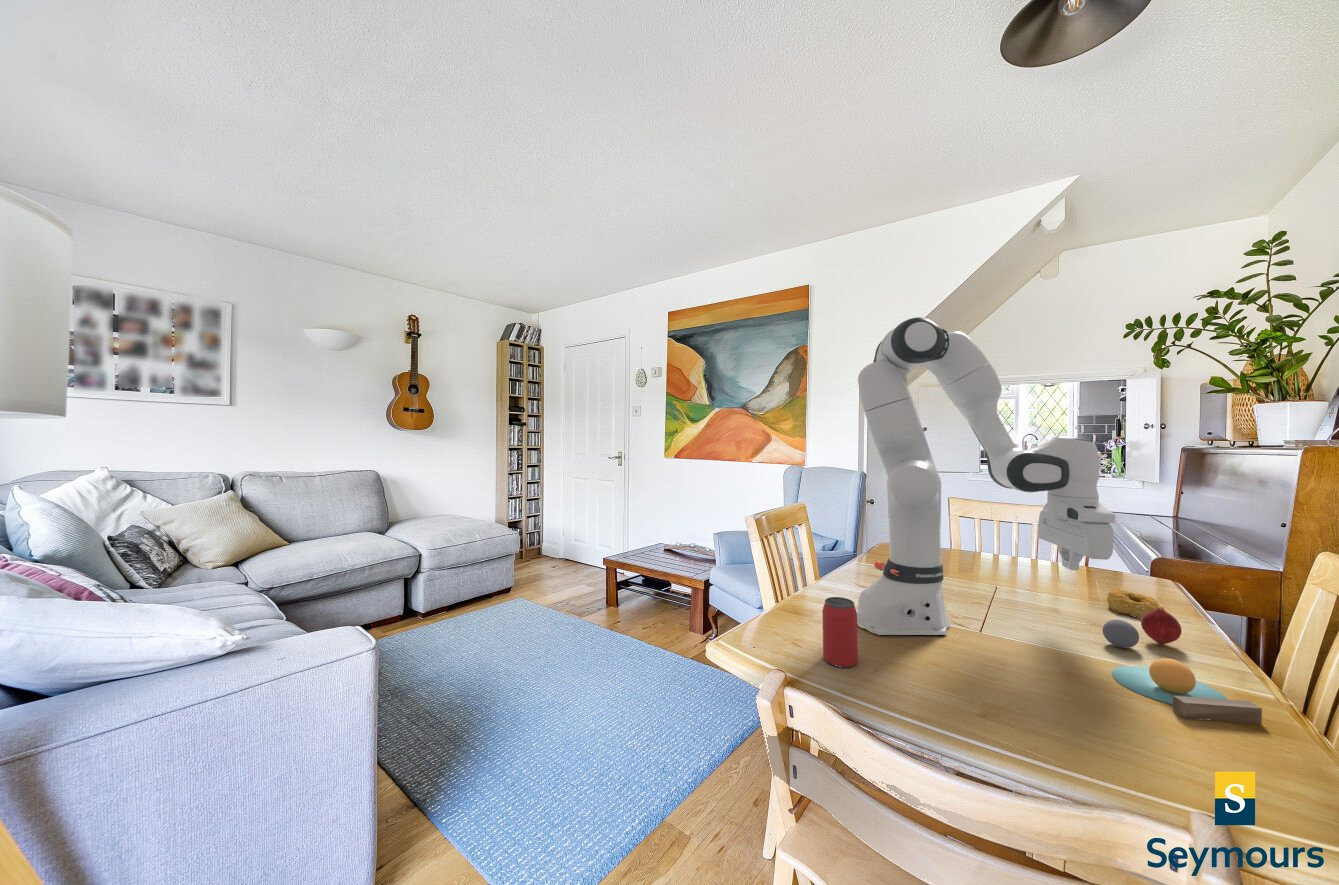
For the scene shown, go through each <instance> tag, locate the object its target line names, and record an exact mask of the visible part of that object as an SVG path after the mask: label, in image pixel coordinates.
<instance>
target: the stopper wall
mask: <svg viewBox="0 0 1339 885" xmlns="http://www.w3.org/2000/svg"><path fill="white" fill-rule="evenodd" d="M1262 709H1263V708H1262V707H1260V706H1258V704H1255V703H1253V702H1251V701H1249V700H1244V699H1243V700H1240V699H1229V698H1227V699H1214V698H1200V697H1186V696H1173V705H1172V711H1173V713H1175V714H1177V715H1179V716H1180V717H1182V718H1183V719H1184V720H1185V719H1187V720H1198V719H1210V720H1209V721H1211V720H1219V721H1218V722H1224V721H1225V722H1227V723H1238V724H1239V723H1240V724H1251V725H1252V724H1253V725H1263V721H1262V720H1263V718H1262V717H1263V710H1262ZM1225 722H1224V723H1225Z"/></svg>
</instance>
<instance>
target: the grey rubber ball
mask: <svg viewBox="0 0 1339 885" xmlns="http://www.w3.org/2000/svg"><path fill="white" fill-rule="evenodd" d="M1102 635H1103V636H1104V638H1105V640H1106V641H1108V643H1109V644H1111V645H1113V646H1115V647H1118V648H1121V649H1129V648H1130V649H1131V648H1133V647H1134V646H1137V644H1138V643H1139V640H1140V635H1139V632H1138V630H1137V629H1136V627H1135V626H1134V625H1133V624H1132V623H1129V622H1127V621H1125V620H1123V619H1110V620H1108V621H1106V622H1105V623H1104V624H1103V626H1102Z"/></svg>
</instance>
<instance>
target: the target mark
mask: <svg viewBox="0 0 1339 885" xmlns="http://www.w3.org/2000/svg"><path fill="white" fill-rule="evenodd" d="M1149 668H1150V667H1147V666H1146V667H1145V666H1138V665H1137V666H1134V665H1124V666H1118V667H1115V668H1114V669H1113V670H1112V671H1111V675H1112V677H1113V678H1114V680H1115V681H1116V682H1117V683H1119V684H1120V685H1121V686H1123V687H1125V688H1126V689H1128V690H1131V691H1132V692H1134V693H1137V694H1140V695H1141V696H1144V697H1147V698H1150V699H1152V700H1155V701H1158V702H1161V703H1165V704H1169V705H1172V706H1173V696H1186V697H1200V698H1214V699H1228V698H1227V697H1226V696H1225V695H1224V694H1223V693H1222V692H1220V691H1218V690H1217V689H1215V688H1213V687H1211V686H1209V685H1207V684H1205V683H1203V682H1201V681H1199V680H1196V685H1195V687H1194V689H1193V690H1192V691H1190V692H1188V693H1185V694H1175V693H1171V692H1168V691H1166V690H1164V689H1162V688H1160V687H1159V686H1158V685H1157V684H1156V683H1155V682H1154V681H1153V680H1152V678H1151V676H1150V673H1149Z"/></svg>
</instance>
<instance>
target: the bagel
mask: <svg viewBox="0 0 1339 885" xmlns="http://www.w3.org/2000/svg"><path fill="white" fill-rule="evenodd" d="M1106 601H1107V603H1108V607H1109V609H1110V610H1112V611H1115V612H1116V613H1118V612H1119V613H1118V614H1121V613H1122V615H1125V614H1127V615H1126V616H1129V615H1131V616H1130V617H1133V616H1135V617H1134V618H1137V617H1139V618H1138V619H1140V618H1143V617H1144V616H1145V615H1146V614H1147V613H1149V612H1151V611H1154V610H1156V609H1157V607H1158V606H1161V605H1160V604H1159V603H1158V601H1156V600H1155V598H1153V597H1152V596H1151V597H1150V596H1147V595H1145V594H1141V593H1136V592H1135V593H1134V592H1132V591H1128V590H1125V589H1118V588H1117V589H1112V590H1111V591H1110V592H1108V593H1107V597H1106Z"/></svg>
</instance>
